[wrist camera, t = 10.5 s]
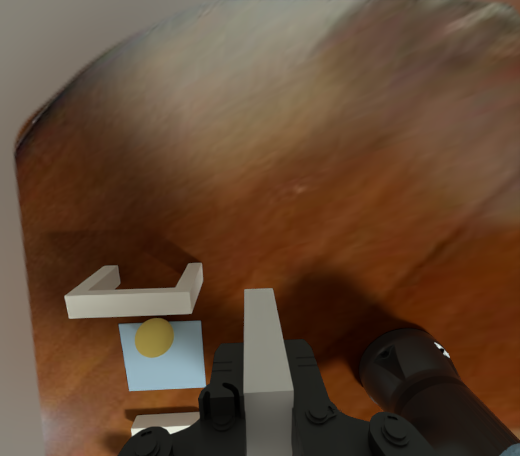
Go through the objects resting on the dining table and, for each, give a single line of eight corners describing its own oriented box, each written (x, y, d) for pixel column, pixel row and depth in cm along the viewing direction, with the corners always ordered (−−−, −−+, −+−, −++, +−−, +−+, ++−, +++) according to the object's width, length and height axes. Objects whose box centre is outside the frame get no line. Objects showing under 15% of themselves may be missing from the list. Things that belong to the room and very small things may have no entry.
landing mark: (205, 386, 47) (205, 387, 47) (129, 390, 47) (129, 391, 46) (200, 320, 44) (200, 321, 44) (119, 323, 43) (118, 324, 43)
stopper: (205, 420, 49) (203, 433, 47) (138, 424, 49) (132, 438, 46) (204, 411, 49) (202, 424, 46) (136, 415, 48) (130, 428, 46)
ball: (172, 312, 41) (179, 323, 45) (134, 313, 40) (145, 324, 45) (166, 352, 37) (174, 360, 42) (124, 353, 37) (137, 361, 42)
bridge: (203, 280, 42) (191, 313, 33) (107, 283, 42) (69, 318, 33) (201, 262, 42) (189, 291, 33) (104, 265, 41) (64, 296, 32)
